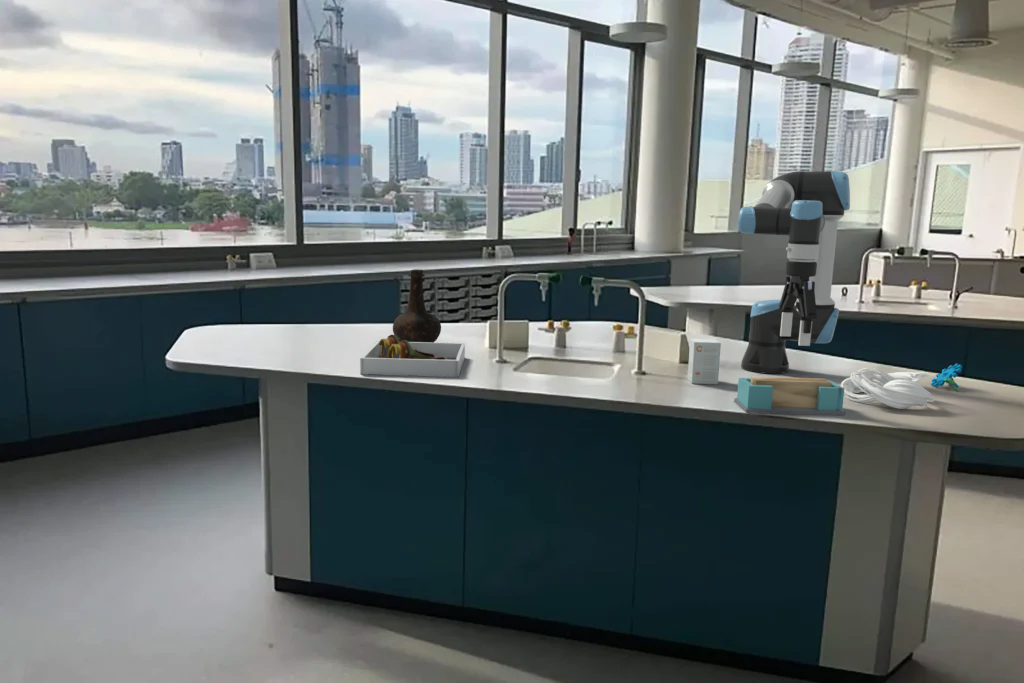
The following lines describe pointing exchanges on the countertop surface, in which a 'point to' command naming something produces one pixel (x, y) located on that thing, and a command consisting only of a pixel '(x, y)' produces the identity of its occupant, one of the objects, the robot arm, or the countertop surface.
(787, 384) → the slat
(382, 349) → the multicoloured curved piece
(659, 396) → the countertop surface
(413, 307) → the glass bottle
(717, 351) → the small box
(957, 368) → the blue toy flower
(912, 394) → the coil
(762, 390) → the rail
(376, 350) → the tray
